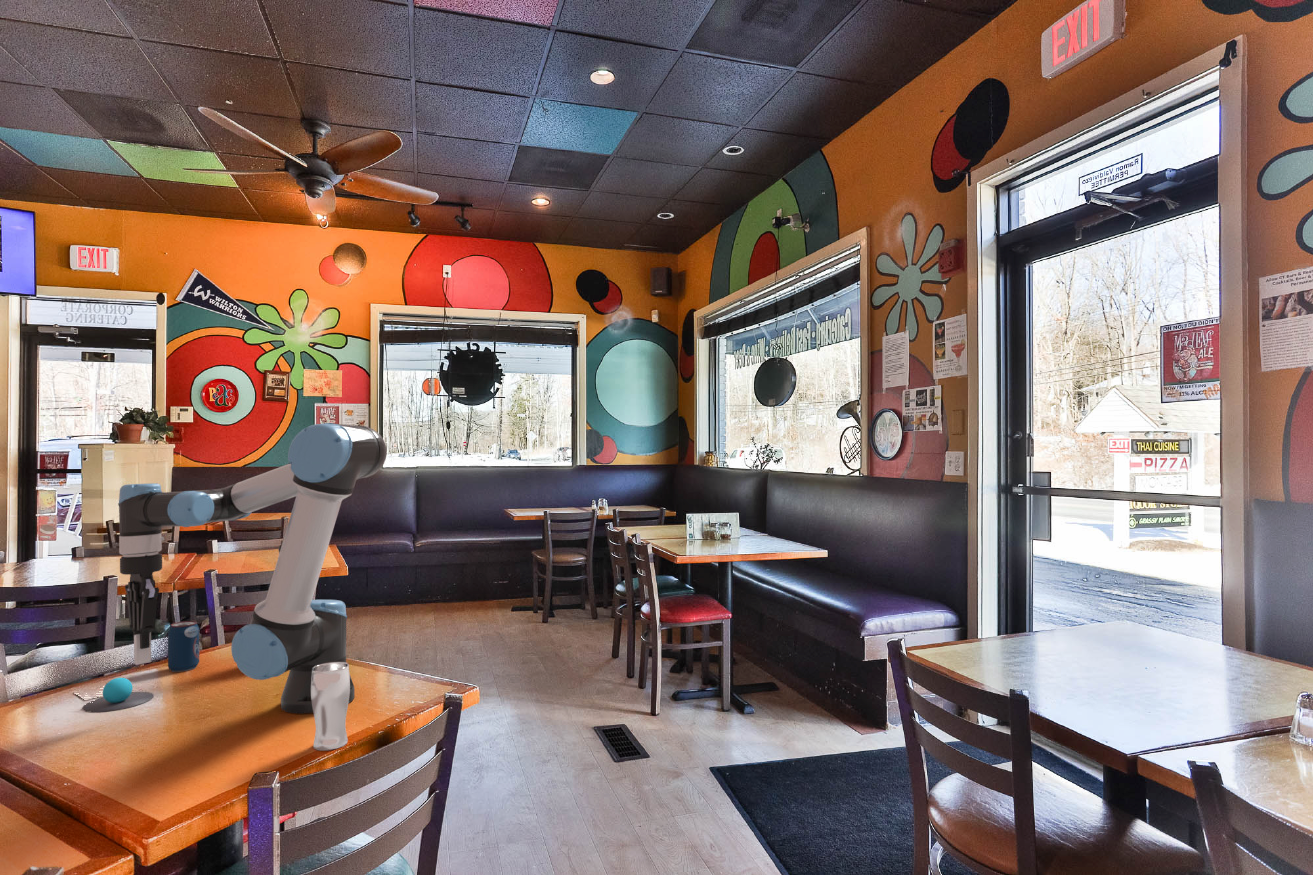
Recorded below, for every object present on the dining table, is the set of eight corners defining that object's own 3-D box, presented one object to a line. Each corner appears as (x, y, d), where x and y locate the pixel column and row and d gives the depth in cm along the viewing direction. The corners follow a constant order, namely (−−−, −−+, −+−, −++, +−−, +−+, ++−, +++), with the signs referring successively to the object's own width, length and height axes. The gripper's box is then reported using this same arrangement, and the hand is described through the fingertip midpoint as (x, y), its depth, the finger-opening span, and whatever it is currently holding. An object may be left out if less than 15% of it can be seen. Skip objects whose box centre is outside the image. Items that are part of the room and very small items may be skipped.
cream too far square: (131, 690, 172) (131, 689, 172) (84, 700, 165) (84, 699, 165) (118, 683, 178) (118, 682, 178) (73, 693, 171) (73, 692, 171)
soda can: (202, 668, 190) (202, 622, 190) (171, 674, 185) (172, 627, 185) (195, 663, 194) (195, 618, 195) (164, 669, 189) (165, 623, 190)
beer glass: (324, 754, 134) (324, 674, 134) (303, 747, 138) (303, 668, 138) (357, 741, 140) (357, 664, 140) (336, 734, 143) (335, 659, 144)
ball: (134, 703, 165) (137, 681, 164) (105, 710, 161) (107, 687, 160) (127, 692, 168) (129, 670, 167) (98, 699, 164) (100, 676, 163)
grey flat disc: (162, 699, 165) (162, 698, 165) (93, 716, 155) (93, 715, 155) (142, 688, 173) (142, 688, 173) (75, 704, 163) (75, 703, 163)
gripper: (172, 553, 155) (173, 662, 155) (150, 550, 163) (152, 654, 163) (131, 558, 149) (132, 671, 149) (110, 554, 157) (112, 662, 157)
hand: (142, 662), depth 156 cm, fingers closed
